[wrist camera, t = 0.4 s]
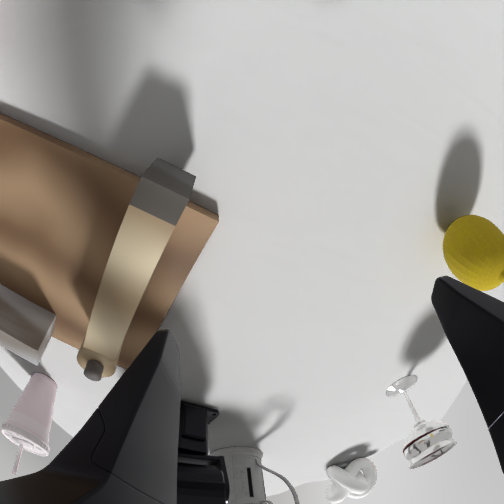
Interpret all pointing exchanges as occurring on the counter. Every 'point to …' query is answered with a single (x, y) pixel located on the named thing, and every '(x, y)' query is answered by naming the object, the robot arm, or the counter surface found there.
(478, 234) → the lemon
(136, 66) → the counter surface
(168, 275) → the seat
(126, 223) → the leg
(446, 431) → the wineglass
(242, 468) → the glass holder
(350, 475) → the white rounded piece
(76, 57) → the counter surface
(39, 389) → the smoothie
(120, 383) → the robot arm
